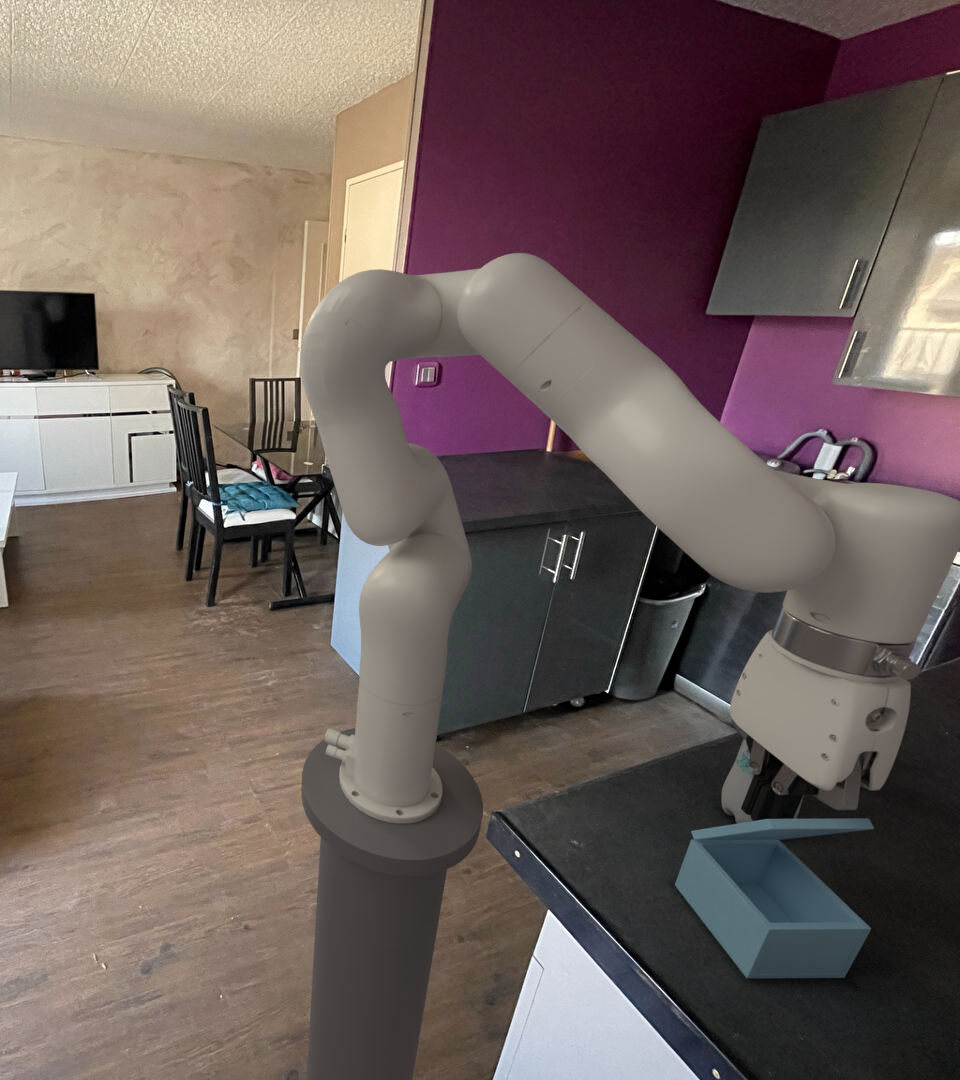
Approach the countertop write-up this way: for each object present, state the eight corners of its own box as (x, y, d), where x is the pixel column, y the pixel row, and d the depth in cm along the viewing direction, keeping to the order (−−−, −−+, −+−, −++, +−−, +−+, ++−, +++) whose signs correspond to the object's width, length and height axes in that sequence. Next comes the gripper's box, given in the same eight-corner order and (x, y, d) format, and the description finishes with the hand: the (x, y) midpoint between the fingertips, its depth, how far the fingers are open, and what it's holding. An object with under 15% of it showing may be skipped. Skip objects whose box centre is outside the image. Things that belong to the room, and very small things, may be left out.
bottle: (728, 834, 63) (789, 679, 56) (704, 790, 69) (756, 645, 62) (804, 851, 61) (877, 692, 54) (773, 804, 67) (835, 655, 60)
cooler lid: (875, 828, 47) (869, 818, 47) (771, 829, 47) (767, 818, 47) (781, 839, 55) (777, 830, 56) (693, 840, 55) (690, 831, 56)
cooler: (844, 978, 49) (871, 928, 47) (746, 978, 49) (769, 929, 47) (758, 884, 58) (778, 838, 56) (674, 885, 58) (690, 839, 56)
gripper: (1001, 697, 39) (893, 893, 45) (798, 597, 53) (738, 758, 59) (890, 698, 39) (798, 894, 45) (716, 598, 53) (665, 759, 59)
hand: (764, 816), depth 52 cm, fingers closed
